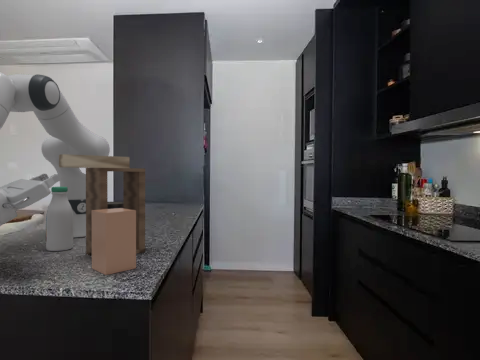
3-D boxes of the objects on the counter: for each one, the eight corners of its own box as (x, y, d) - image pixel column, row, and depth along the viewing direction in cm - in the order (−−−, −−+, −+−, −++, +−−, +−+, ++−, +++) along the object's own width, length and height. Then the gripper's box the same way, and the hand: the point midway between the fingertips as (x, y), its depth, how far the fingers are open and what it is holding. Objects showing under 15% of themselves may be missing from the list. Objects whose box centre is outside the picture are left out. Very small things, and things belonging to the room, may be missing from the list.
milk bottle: (78, 247, 109) (78, 186, 109) (57, 252, 102) (56, 187, 102) (62, 245, 113) (62, 186, 112) (40, 250, 106) (40, 186, 105)
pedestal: (91, 268, 86) (91, 210, 86) (121, 262, 92) (121, 208, 92) (105, 275, 81) (105, 213, 80) (136, 268, 86) (136, 210, 86)
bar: (58, 167, 92) (58, 154, 92) (123, 168, 106) (123, 157, 106) (63, 167, 89) (63, 154, 89) (129, 168, 103) (129, 156, 103)
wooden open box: (86, 254, 101) (85, 167, 100) (129, 246, 111) (129, 168, 110) (100, 260, 94) (100, 167, 93) (145, 252, 104) (145, 168, 103)
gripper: (0, 197, 72) (60, 165, 81) (-18, 192, 86) (34, 165, 95) (18, 220, 75) (74, 187, 83) (-3, 212, 89) (47, 184, 97)
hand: (52, 176), depth 89 cm, fingers open, 8 cm apart
